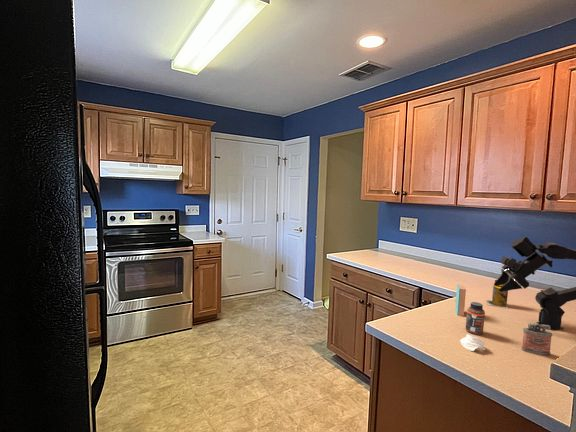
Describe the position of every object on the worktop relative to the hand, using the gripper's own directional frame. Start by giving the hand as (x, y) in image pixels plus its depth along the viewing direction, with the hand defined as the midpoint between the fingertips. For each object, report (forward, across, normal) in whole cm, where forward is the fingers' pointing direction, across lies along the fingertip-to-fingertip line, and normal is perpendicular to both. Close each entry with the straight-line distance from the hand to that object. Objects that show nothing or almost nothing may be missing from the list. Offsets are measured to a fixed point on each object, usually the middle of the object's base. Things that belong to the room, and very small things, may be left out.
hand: (497, 287), depth 136 cm
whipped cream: (+19, +34, 0) cm, 39 cm away
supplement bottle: (+17, +20, +2) cm, 26 cm away
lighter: (+5, +29, +14) cm, 32 cm away
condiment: (+6, -20, +13) cm, 25 cm away
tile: (+19, +1, 0) cm, 19 cm away
